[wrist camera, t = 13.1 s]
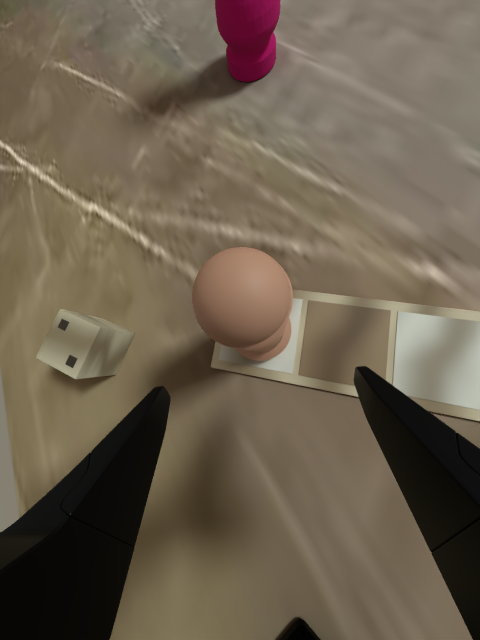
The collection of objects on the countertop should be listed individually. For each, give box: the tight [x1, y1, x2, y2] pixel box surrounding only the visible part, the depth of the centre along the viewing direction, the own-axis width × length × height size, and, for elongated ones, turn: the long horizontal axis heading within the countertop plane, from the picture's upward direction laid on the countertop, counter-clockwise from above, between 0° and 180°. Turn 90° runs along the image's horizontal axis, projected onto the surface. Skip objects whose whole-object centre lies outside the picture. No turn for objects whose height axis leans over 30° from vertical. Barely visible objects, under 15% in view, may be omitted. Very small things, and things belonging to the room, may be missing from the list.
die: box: [36, 309, 135, 379], centre depth 22 cm, size 5×5×5 cm
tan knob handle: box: [192, 247, 293, 361], centre depth 14 cm, size 6×6×14 cm
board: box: [211, 290, 480, 421], centre depth 20 cm, size 25×9×1 cm, turn 80°
